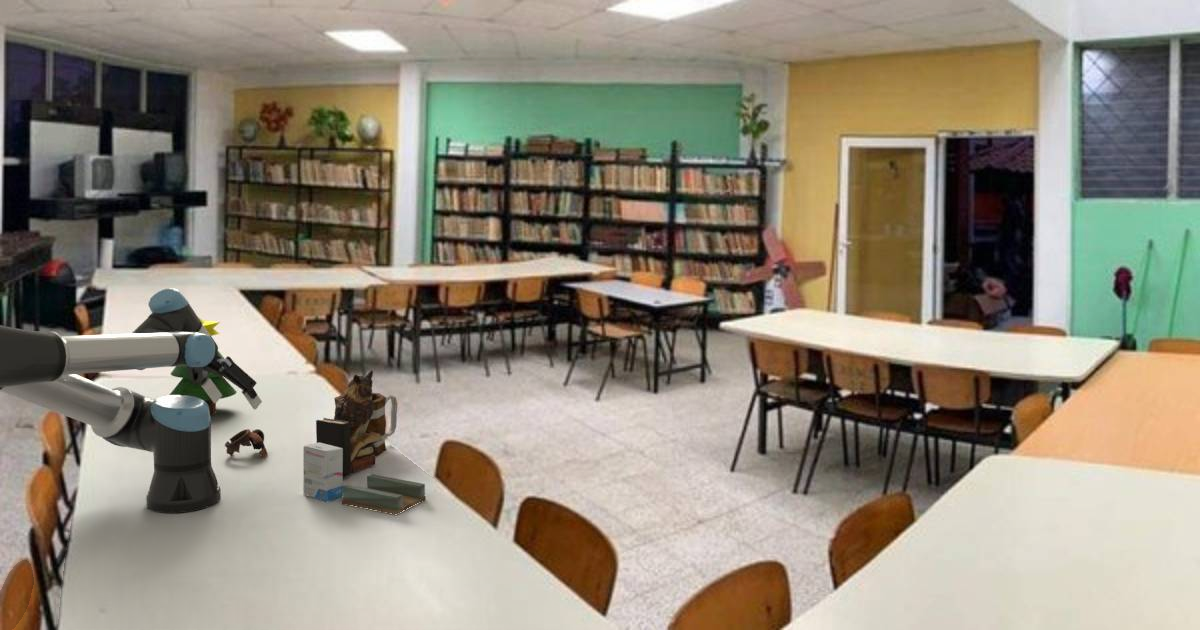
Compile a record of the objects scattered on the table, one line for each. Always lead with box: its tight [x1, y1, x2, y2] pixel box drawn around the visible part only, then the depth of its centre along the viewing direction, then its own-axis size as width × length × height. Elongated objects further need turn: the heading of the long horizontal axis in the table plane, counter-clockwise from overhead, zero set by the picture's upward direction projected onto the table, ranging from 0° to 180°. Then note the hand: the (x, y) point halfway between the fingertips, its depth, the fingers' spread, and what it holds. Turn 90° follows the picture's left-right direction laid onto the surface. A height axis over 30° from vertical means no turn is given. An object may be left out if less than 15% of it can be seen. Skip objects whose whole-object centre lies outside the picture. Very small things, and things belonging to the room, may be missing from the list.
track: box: [341, 473, 427, 515], centre depth 204 cm, size 11×15×4 cm
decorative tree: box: [169, 317, 237, 416], centre depth 276 cm, size 19×19×30 cm
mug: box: [334, 392, 398, 457], centre depth 244 cm, size 20×14×15 cm
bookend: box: [315, 369, 382, 478], centre depth 225 cm, size 15×11×25 cm
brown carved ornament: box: [224, 428, 269, 460], centre depth 236 cm, size 12×10×8 cm
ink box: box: [302, 442, 344, 502], centre depth 207 cm, size 9×5×12 cm, turn 58°
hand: (237, 402), depth 230 cm, fingers open, 13 cm apart
